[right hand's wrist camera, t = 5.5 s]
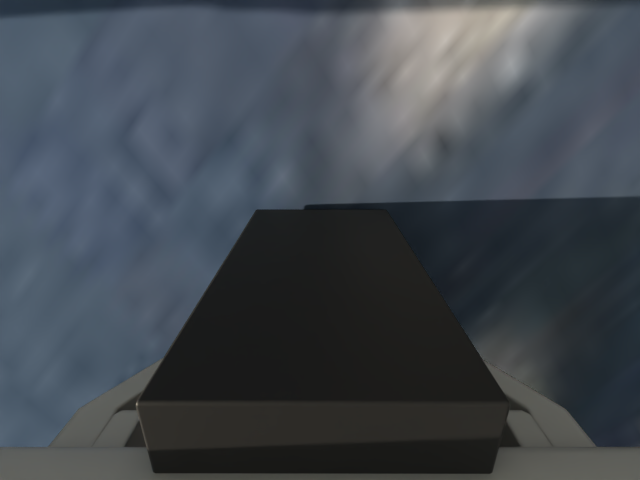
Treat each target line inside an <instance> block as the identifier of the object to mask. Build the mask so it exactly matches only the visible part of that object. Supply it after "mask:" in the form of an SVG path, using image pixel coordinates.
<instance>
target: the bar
mask: <svg viewBox="0 0 640 480" xmlns="http://www.w3.org/2000/svg"><path fill="white" fill-rule="evenodd" d="M136 409H137V413H138V417H139V421H140V425H141V428H142V432H143V436H144V440H145V444H146V447H147V451H148V455H149V459H150V463H151V466H152V470H153V472H154V473H244V474H490V473H492V472H493V468H494V464H495V461H496V457H497V453H498V450H499V446H500V442H501V439H502V435H503V431H504V428H505V424H506V420H507V417H508V413H509V409H510V403H509V400H508V399H507V397H506V395H505V394H504V392H503V391H502V389H501V388H500V386H499V385H498V383H497V381H496V380H495V378H494V377H493V375H492V374H491V372H490V371H489V369H488V367H487V366H486V364H485V363H484V361H483V360H482V358H481V356H480V355H479V353H478V352H477V350H476V349H475V347H474V346H473V344H472V342H471V341H470V339H469V338H468V336H467V335H466V333H465V332H464V330H463V328H462V327H461V325H460V324H459V322H458V321H457V319H456V318H455V316H454V314H453V313H452V311H451V310H450V308H449V307H448V305H447V304H446V302H445V300H444V299H443V297H442V296H441V294H440V293H439V291H438V289H437V288H436V286H435V285H434V283H433V282H432V280H431V279H430V277H429V275H428V274H427V272H426V271H425V269H424V268H423V266H422V265H421V263H420V261H419V260H418V258H417V257H416V255H415V254H414V252H413V251H412V249H411V247H410V246H409V244H408V243H407V241H406V240H405V238H404V236H403V235H402V233H401V232H400V230H399V229H398V227H397V226H396V224H395V222H394V221H393V219H392V218H391V216H390V215H389V213H388V212H387V210H256V211H255V213H254V214H253V216H252V217H251V219H250V221H249V222H248V224H247V225H246V227H245V229H244V230H243V232H242V233H241V235H240V237H239V238H238V240H237V241H236V243H235V245H234V246H233V248H232V249H231V251H230V253H229V254H228V256H227V257H226V259H225V261H224V262H223V264H222V265H221V267H220V268H219V270H218V272H217V273H216V275H215V276H214V278H213V280H212V281H211V283H210V284H209V286H208V288H207V289H206V291H205V292H204V294H203V296H202V297H201V299H200V300H199V302H198V304H197V305H196V307H195V308H194V310H193V312H192V313H191V315H190V316H189V318H188V320H187V321H186V323H185V324H184V326H183V328H182V329H181V331H180V332H179V334H178V336H177V337H176V339H175V340H174V342H173V344H172V345H171V347H170V348H169V350H168V351H167V353H166V355H165V356H164V358H163V359H162V361H161V363H160V364H159V366H158V367H157V369H156V371H155V372H154V374H153V375H152V377H151V379H150V380H149V382H148V383H147V385H146V387H145V388H144V390H143V391H142V393H141V395H140V396H139V398H138V399H137V402H136Z"/></svg>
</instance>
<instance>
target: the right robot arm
mask: <svg viewBox="0 0 640 480" xmlns="http://www.w3.org/2000/svg"><path fill="white" fill-rule="evenodd" d="M162 359H163V358H162ZM162 359H161V360H159V361H157V362H156V363H154V364H152V365H151V366H149V367H147V368H146V369H144V370H142V371H141V372H139V373H137V374H136V375H134V376H132V377H131V378H129V379H127V380H126V381H124V382H122V383H121V384H119V385H117V386H116V387H114V388H112V389H111V390H109V391H107V392H106V393H104V394H102V395H101V396H99V397H97V398H96V399H94V400H92V401H91V402H89V403H87V404H86V405H84V406H82V407H81V408H79V409H78V410H77V412H76V413H75V414H74V415H73V417H72V418H71V419H70V420H69V422H68V423H67V424H66V425H65V427H64V428H63V429H62V430H61V431H60V433H59V434H58V435H57V436H56V438H55V439H54V440H53V441H52V443H51V444H50V445H49V446H48V447H0V480H640V447H596V445H595V444H594V443H593V442H592V440H591V439H590V438H589V437H588V436H587V434H586V433H585V432H584V431H583V429H582V428H581V427H580V426H579V424H578V423H577V422H576V421H575V420H574V418H573V417H572V416H571V415H570V413H569V412H568V411H567V410H566V409H565V408H563V407H562V406H560V405H558V404H557V403H555V402H553V401H552V400H550V399H548V398H547V397H545V396H543V395H542V394H540V393H538V392H536V391H535V390H533V389H531V388H530V387H528V386H526V385H525V384H523V383H521V382H520V381H518V380H516V379H515V378H513V377H511V376H510V375H508V374H506V373H505V372H503V371H501V370H500V369H498V368H496V367H495V366H493V365H491V364H490V363H488V362H486V361H485V360H483V359H482V360H483V361H484V363H485V364H486V366H487V367H488V369H489V371H490V372H491V374H492V375H493V377H494V378H495V380H496V381H497V383H498V385H499V386H500V388H501V389H502V391H503V392H504V394H505V395H506V397H507V399H508V400H509V403H510V409H509V413H508V417H507V420H506V424H505V428H504V431H503V435H502V439H501V442H500V446H499V450H498V453H497V457H496V461H495V464H494V468H493V472H492V473H490V474H244V473H154V472H153V470H152V466H151V463H150V459H149V455H148V451H147V447H146V444H145V440H144V436H143V432H142V428H141V425H140V421H139V417H138V413H137V409H136V402H137V399H138V398H139V396H140V395H141V393H142V391H143V390H144V388H145V387H146V385H147V383H148V382H149V380H150V379H151V377H152V375H153V374H154V372H155V371H156V369H157V367H158V366H159V364H160V363H161V361H162Z"/></svg>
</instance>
